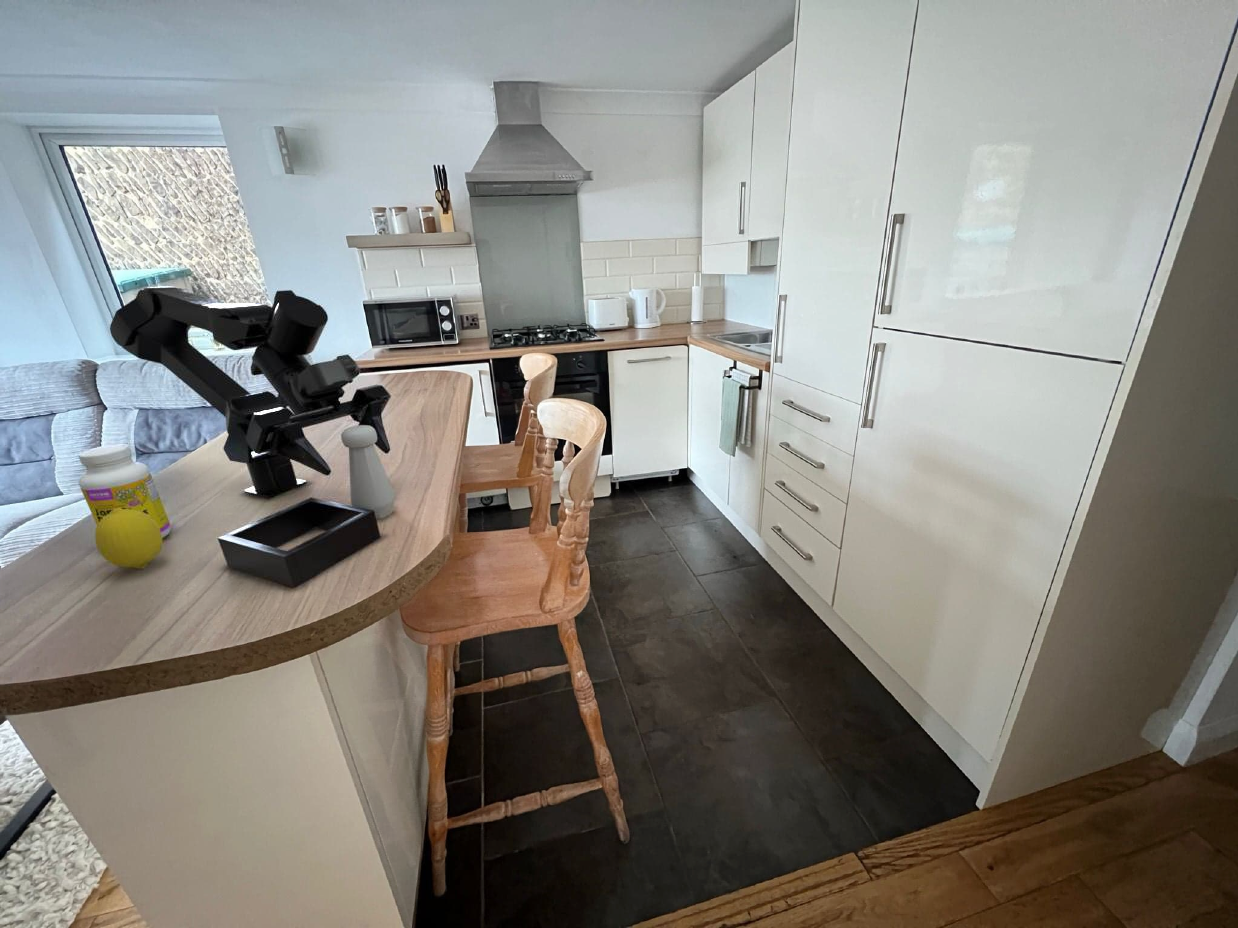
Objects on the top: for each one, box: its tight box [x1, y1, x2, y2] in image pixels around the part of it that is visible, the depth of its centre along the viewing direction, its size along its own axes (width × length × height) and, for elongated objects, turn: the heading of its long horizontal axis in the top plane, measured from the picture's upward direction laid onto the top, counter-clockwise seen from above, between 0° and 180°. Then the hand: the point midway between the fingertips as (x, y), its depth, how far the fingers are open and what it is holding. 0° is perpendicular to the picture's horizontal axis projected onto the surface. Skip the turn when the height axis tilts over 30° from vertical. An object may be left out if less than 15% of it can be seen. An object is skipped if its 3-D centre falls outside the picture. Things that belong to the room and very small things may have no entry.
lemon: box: [94, 508, 163, 570], centre depth 60 cm, size 6×6×8 cm
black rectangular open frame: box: [217, 496, 381, 589], centre depth 63 cm, size 12×12×4 cm
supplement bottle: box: [78, 443, 172, 539], centre depth 66 cm, size 7×7×13 cm
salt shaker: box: [340, 425, 397, 520], centre depth 71 cm, size 6×6×13 cm
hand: (360, 462), depth 71 cm, fingers open, 9 cm apart
